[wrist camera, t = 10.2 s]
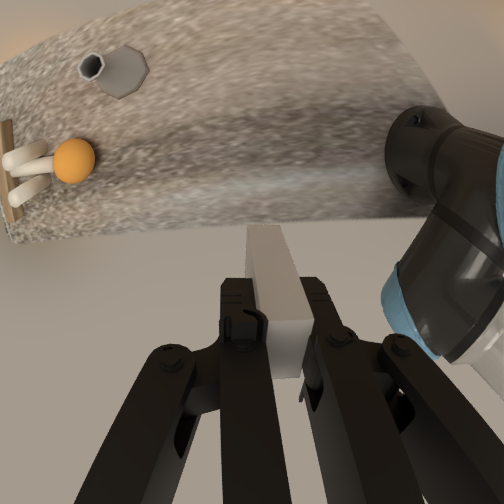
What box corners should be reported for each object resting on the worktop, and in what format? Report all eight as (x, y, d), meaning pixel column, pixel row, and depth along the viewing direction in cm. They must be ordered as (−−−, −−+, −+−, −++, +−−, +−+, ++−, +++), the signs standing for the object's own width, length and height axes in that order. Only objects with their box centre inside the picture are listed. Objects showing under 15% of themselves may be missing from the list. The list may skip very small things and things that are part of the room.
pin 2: (50, 171, 36) (18, 189, 28) (52, 186, 37) (21, 207, 29) (38, 172, 35) (6, 191, 28) (40, 187, 36) (10, 208, 29)
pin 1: (46, 138, 33) (12, 151, 26) (48, 154, 34) (15, 169, 27) (35, 141, 33) (0, 154, 26) (36, 156, 34) (3, 172, 27)
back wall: (11, 119, 30) (0, 122, 28) (24, 214, 38) (14, 222, 35) (3, 121, 30) (-8, 125, 28) (16, 215, 38) (6, 222, 35)
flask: (118, 108, 33) (86, 114, 24) (88, 74, 30) (50, 72, 21) (159, 71, 31) (137, 62, 23) (127, 36, 28) (97, 21, 19)
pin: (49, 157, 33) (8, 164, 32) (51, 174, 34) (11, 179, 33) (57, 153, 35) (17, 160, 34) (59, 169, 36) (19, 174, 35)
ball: (58, 139, 33) (97, 134, 35) (61, 180, 36) (98, 175, 38) (45, 144, 28) (90, 137, 30) (50, 191, 31) (92, 185, 33)
